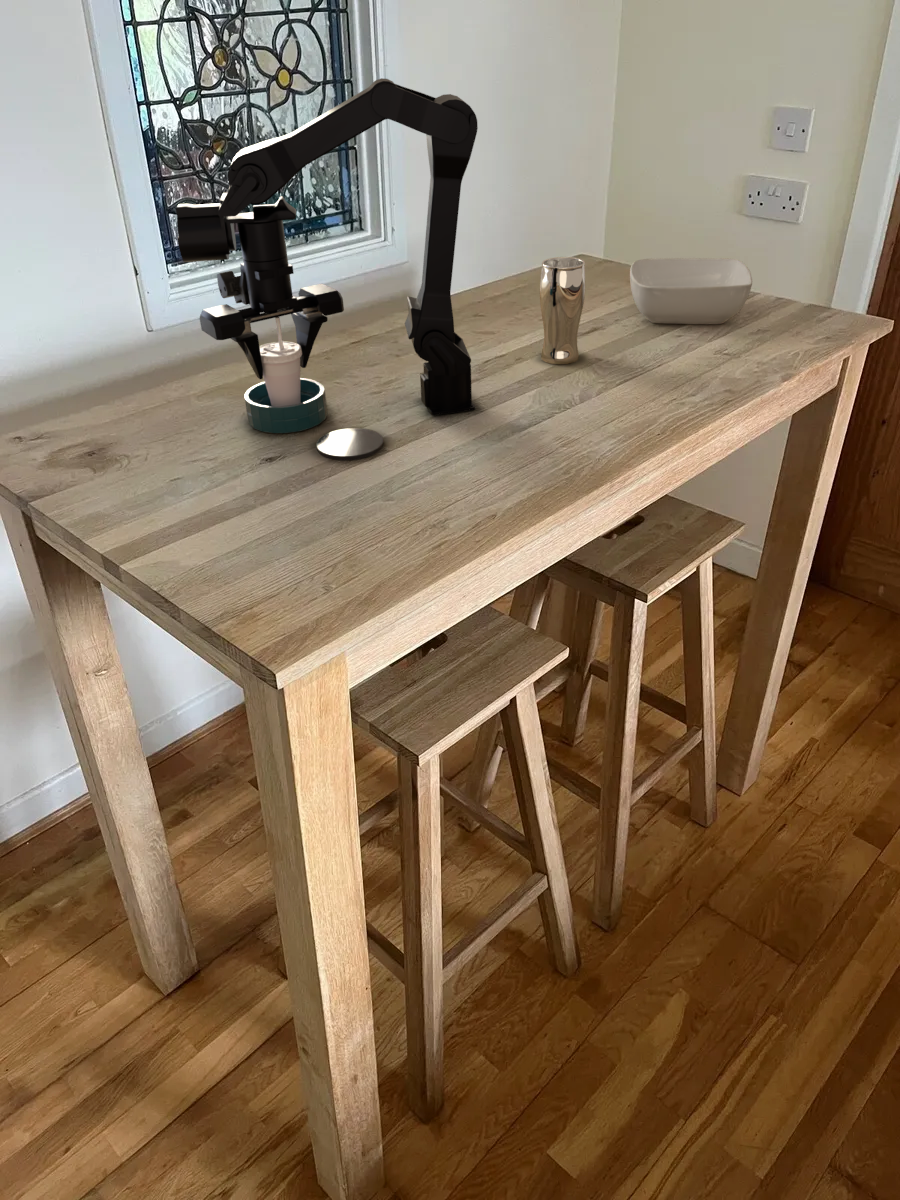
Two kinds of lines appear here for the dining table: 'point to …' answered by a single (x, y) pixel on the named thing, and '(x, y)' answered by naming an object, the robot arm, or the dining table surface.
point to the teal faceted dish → (286, 409)
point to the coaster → (349, 444)
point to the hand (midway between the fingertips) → (281, 372)
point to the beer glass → (561, 307)
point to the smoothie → (281, 370)
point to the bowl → (689, 289)
